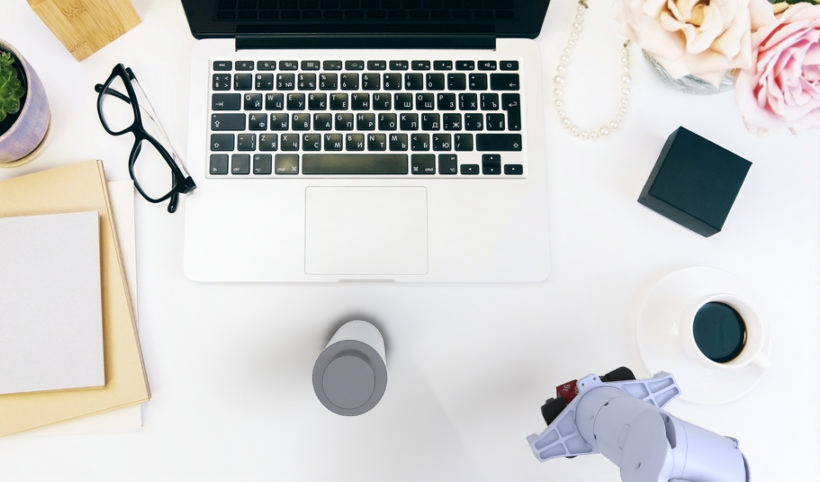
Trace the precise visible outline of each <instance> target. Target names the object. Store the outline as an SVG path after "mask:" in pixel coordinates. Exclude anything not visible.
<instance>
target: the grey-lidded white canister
mask: <svg viewBox="0 0 820 482" xmlns="http://www.w3.org/2000/svg"><path fill="white" fill-rule="evenodd" d="M385 349H386V348H385V341H384V337H383V335H382V333H381V331H379V329H378V328H377V326H375V325H374V324H372V323H370V322H369V321H366V320H362V319H356V320H350V321H348V322H345V323H344V324H342V325H341V326H339V328H338V329H337V330H336V331H335V333H334V334H333V336H332V337H331V339H330V340H329V341H328V342H327V344H326V346H325V347H324V348H323V350H322V351H321V353H320V354H319V355H318V357H317V358H316V360H315V363H314V365H313V368H312V374H311V382H312V388H313V392H314V393H315V396H316V398H317V399H318V401H319V402H320V404H321V405H323V407H324V408H325V409H327V410H328V411H330V412H331V413H333V414H335V415H339V416H341V417H357V416H361V415H364V414H366V413H368V412H370V411H371V410H372V409H374V408H375V407H376V406H377V405H378V404H379V403H380V401H381V400H382V398H383V397H384V394H385V392H386V390H387V386H388V370H387V369H388V368H387V360H386V350H385Z"/></svg>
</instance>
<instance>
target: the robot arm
mask: <svg viewBox="0 0 820 482" xmlns="http://www.w3.org/2000/svg"><path fill="white" fill-rule="evenodd" d="M577 380H578V381H577V383H576V384H577V388H578V390H579V393H578V395H577V396H576V397H575V398H574V399H573V400H572V401H571V403H570V404H569V405H568V406H567V405H566V403H565V401H564V399H563V397H562V396H559V397H557V396H556V398H555V397H550V398H547V399H546V400H545V403H544V404H542V405H541V406H540V413H541V416H542V418H543V420H544V422H545V425H546V426H547V427H546V428H545V429H544V430H542V431H541V433H540V434H538V433H536V432H534V433H531V434H529V435H527V436H526V437H525V439H526V441H527V443H528V445H529V448H530V449H531V451H532V453H533V455H534V457H535V458H536V459H537V461H539V462H540V464H542V463H544V462H547V461H549V460H553V459H557V458H566V459H574V458H577V457H578V456H588V455H599V454H601V455H602V456H603V457H604V458H606V459H607V460H608V461H610V462H611V463H612V464H614V465H615V466H616V467H618V468H619V474H620V480H621V482H752V471H751V466H750V463H749V461H748V459H747V457H746V455H745V454H744V453H743V452H742V451H741V449H740V441H739V439H738V438H736V437H732V436H728V435H723V434H720V433H717V432H714V431H713V430H709V429H707V428H704V427H701V426H699V425H696V424H694V423H691V422H689V421H686V420H684V419H681V418H679V417H677V416H675V415H674V414H672V413H670V412H668V411H667V410H664V408H665V407H666V406H667V405H668V404H669V403H670V402H671V401H673V400H675V398H677V397H679V396H681V395H682V394H683V392H682V390H681V388H680V386H679V384H678V382H677V380H676V379H675V376H674V374H673V373H670V372H667V371H664V370H661V371H658V372H657V373H655V374H653V377H649V378H640V379H638V378H636V376H635V374H634V371H632V369H631V368H628V367H626V366H619V367H617V368H615V369H613V370H611V371H609V372H607V373H605V374H604V375H598V374H595V373H589V374H586V375H585V376H583V377H581V378H579V379H577Z"/></svg>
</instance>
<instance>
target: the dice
mask: <svg viewBox="0 0 820 482" xmlns="http://www.w3.org/2000/svg"><path fill="white" fill-rule="evenodd" d="M578 380H579V379H577V378H575V379H572V380H570V381H567V382H565V383H562V384H559V385H557V386H555V391H556V393H555V394H556V395H555V396H556V398H557V397H559V396H562V397H563V399H564V401H565V403H566V405H567V406H568V405H569V404H570V403H571V401H572V400H573V399H574V398H575V397H576V396H577V395H578V393H579V390H578V388H577V384H576V383H577V381H578Z"/></svg>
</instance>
